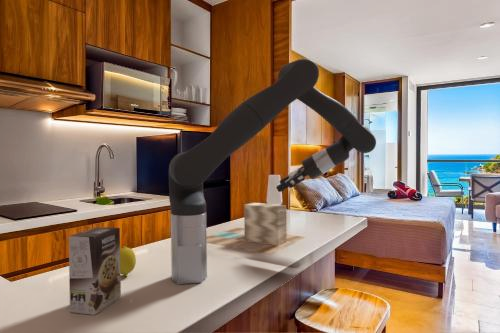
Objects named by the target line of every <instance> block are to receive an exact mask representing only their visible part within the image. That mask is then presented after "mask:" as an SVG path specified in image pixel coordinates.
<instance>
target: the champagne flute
mask: <svg viewBox="0 0 500 333" xmlns="http://www.w3.org/2000/svg"><path fill="white" fill-rule="evenodd" d="M280 180H281V175H280V174H270V175H269V174H268V181H267V182H268V183H267V190H266V204H275V205H283V193H282V192H283V191H281V192H279V191H278V190H277V188H276V187H277V186H278V185H280Z"/></svg>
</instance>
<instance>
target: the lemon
mask: <svg viewBox="0 0 500 333" xmlns="http://www.w3.org/2000/svg"><path fill="white" fill-rule="evenodd" d="M136 264H137V259H136V254H135V251H134V250H133V249H131V247H127V246H125V245H124V246H122V248H121V247H120V275H123V276H124V277H126V276H128V275H129V273H131V272H132V271H133V270H134V269H135V267H136Z"/></svg>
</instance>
